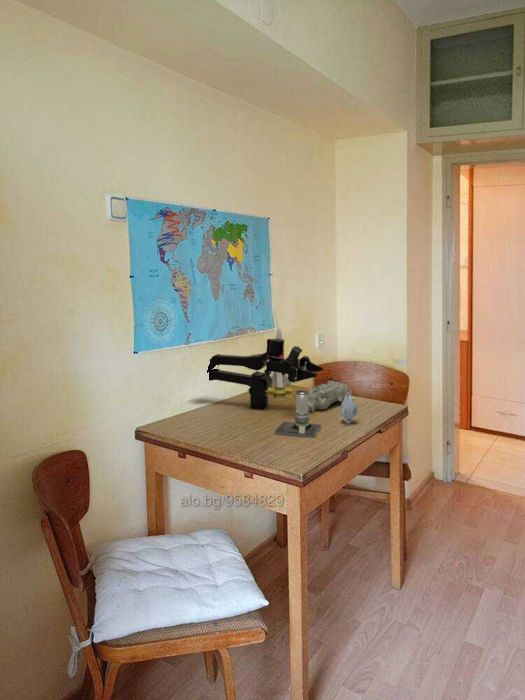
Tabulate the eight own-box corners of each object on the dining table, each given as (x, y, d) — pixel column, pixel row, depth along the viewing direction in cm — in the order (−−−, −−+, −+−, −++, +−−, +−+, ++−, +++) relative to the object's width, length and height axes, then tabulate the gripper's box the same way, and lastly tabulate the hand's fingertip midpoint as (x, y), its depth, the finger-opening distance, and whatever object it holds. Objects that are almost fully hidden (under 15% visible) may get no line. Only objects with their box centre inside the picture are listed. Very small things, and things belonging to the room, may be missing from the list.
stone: (358, 373, 225) (319, 396, 204) (359, 396, 228) (320, 421, 207) (334, 368, 233) (293, 390, 211) (334, 390, 236) (294, 414, 214)
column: (292, 430, 184) (293, 393, 182) (296, 425, 189) (296, 389, 186) (307, 431, 182) (307, 394, 180) (310, 427, 187) (311, 390, 185)
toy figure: (349, 427, 191) (350, 395, 189) (334, 424, 194) (334, 392, 192) (362, 420, 199) (363, 389, 197) (347, 417, 203) (348, 387, 201)
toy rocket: (290, 392, 241) (291, 326, 236) (294, 399, 230) (294, 330, 224) (264, 392, 241) (264, 327, 236) (266, 399, 229) (266, 330, 224)
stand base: (274, 434, 184) (274, 424, 183) (283, 423, 195) (283, 414, 195) (314, 438, 180) (314, 428, 179) (321, 427, 191) (321, 417, 191)
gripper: (275, 351, 200) (315, 357, 195) (290, 341, 217) (327, 347, 212) (273, 379, 203) (312, 386, 198) (288, 367, 220) (324, 373, 215)
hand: (319, 372), depth 206 cm, fingers open, 9 cm apart
